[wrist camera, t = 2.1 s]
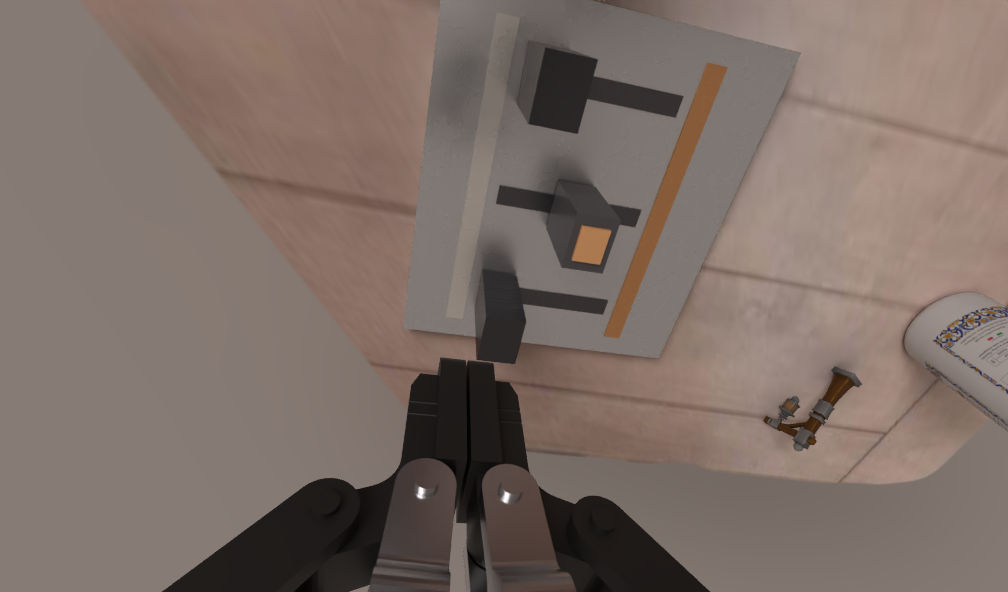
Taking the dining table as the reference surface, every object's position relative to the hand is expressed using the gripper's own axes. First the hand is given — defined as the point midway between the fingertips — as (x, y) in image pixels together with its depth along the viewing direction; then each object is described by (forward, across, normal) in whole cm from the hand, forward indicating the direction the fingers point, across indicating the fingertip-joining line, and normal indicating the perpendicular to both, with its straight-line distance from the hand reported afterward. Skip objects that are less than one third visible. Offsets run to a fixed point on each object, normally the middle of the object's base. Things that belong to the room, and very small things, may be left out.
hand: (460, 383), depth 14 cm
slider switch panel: (+19, -8, 0) cm, 20 cm away
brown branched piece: (+19, -34, +14) cm, 41 cm away
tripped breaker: (+17, -7, 0) cm, 19 cm away
